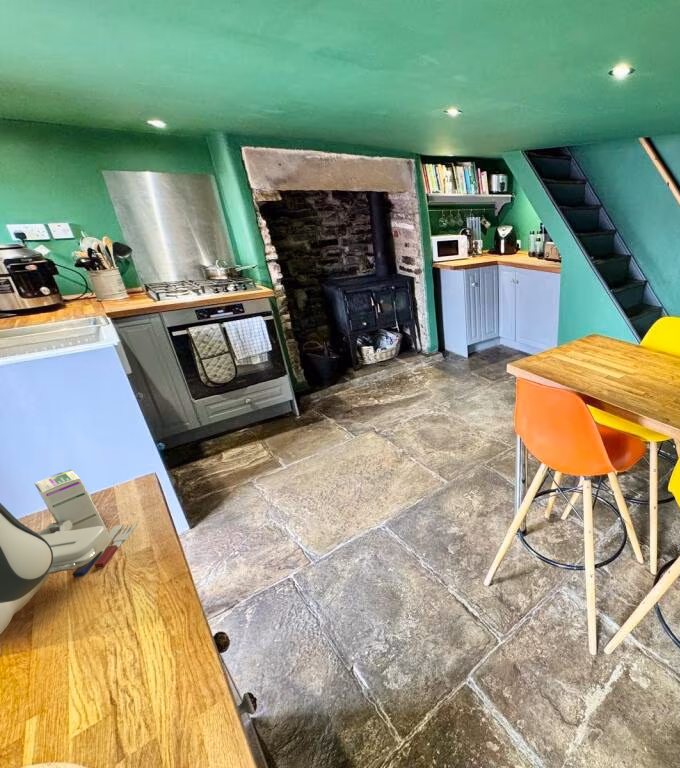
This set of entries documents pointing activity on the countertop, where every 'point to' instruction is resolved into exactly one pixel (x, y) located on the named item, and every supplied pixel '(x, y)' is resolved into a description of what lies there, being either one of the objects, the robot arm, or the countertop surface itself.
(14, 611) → the robot arm
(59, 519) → the syrup box
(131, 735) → the countertop surface
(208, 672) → the countertop surface
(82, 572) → the knife
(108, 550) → the fork
